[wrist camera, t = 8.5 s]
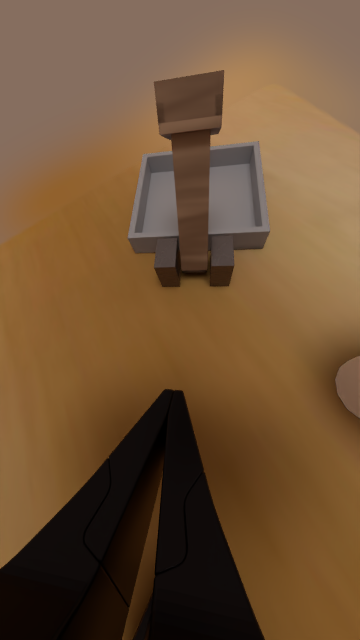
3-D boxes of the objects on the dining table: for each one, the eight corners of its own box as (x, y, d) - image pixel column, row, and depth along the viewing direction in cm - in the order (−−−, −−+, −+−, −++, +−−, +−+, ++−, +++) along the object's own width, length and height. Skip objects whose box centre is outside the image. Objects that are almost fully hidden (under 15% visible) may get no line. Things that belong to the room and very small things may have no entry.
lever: (213, 278, 22) (224, 70, 12) (174, 278, 23) (153, 81, 13) (212, 260, 26) (220, 91, 16) (179, 261, 27) (166, 100, 17)
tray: (262, 248, 25) (270, 231, 22) (135, 253, 27) (127, 238, 24) (253, 163, 30) (258, 141, 27) (148, 174, 32) (143, 154, 30)
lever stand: (228, 286, 23) (234, 265, 19) (162, 286, 25) (154, 267, 20) (228, 259, 25) (232, 235, 21) (164, 261, 26) (157, 239, 22)
